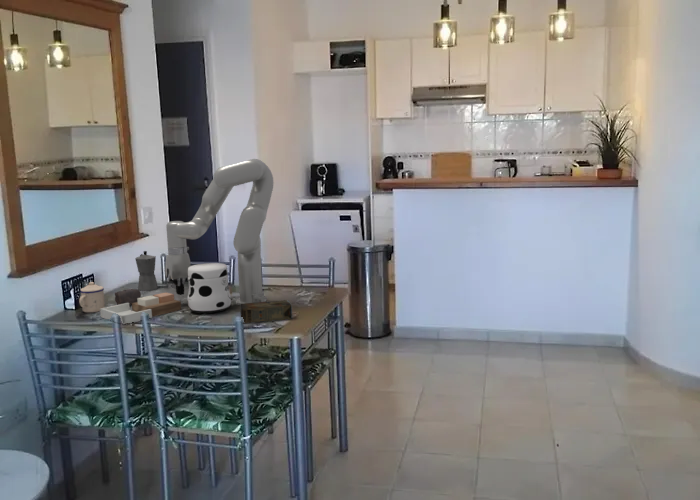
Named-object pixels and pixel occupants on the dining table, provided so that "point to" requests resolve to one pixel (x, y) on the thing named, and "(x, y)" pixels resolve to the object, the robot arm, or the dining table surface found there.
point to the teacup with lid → (92, 298)
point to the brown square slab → (159, 307)
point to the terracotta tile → (165, 297)
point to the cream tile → (148, 301)
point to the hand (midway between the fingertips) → (180, 294)
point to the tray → (123, 313)
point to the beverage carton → (266, 311)
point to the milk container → (208, 288)
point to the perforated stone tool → (127, 296)
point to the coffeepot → (146, 272)
